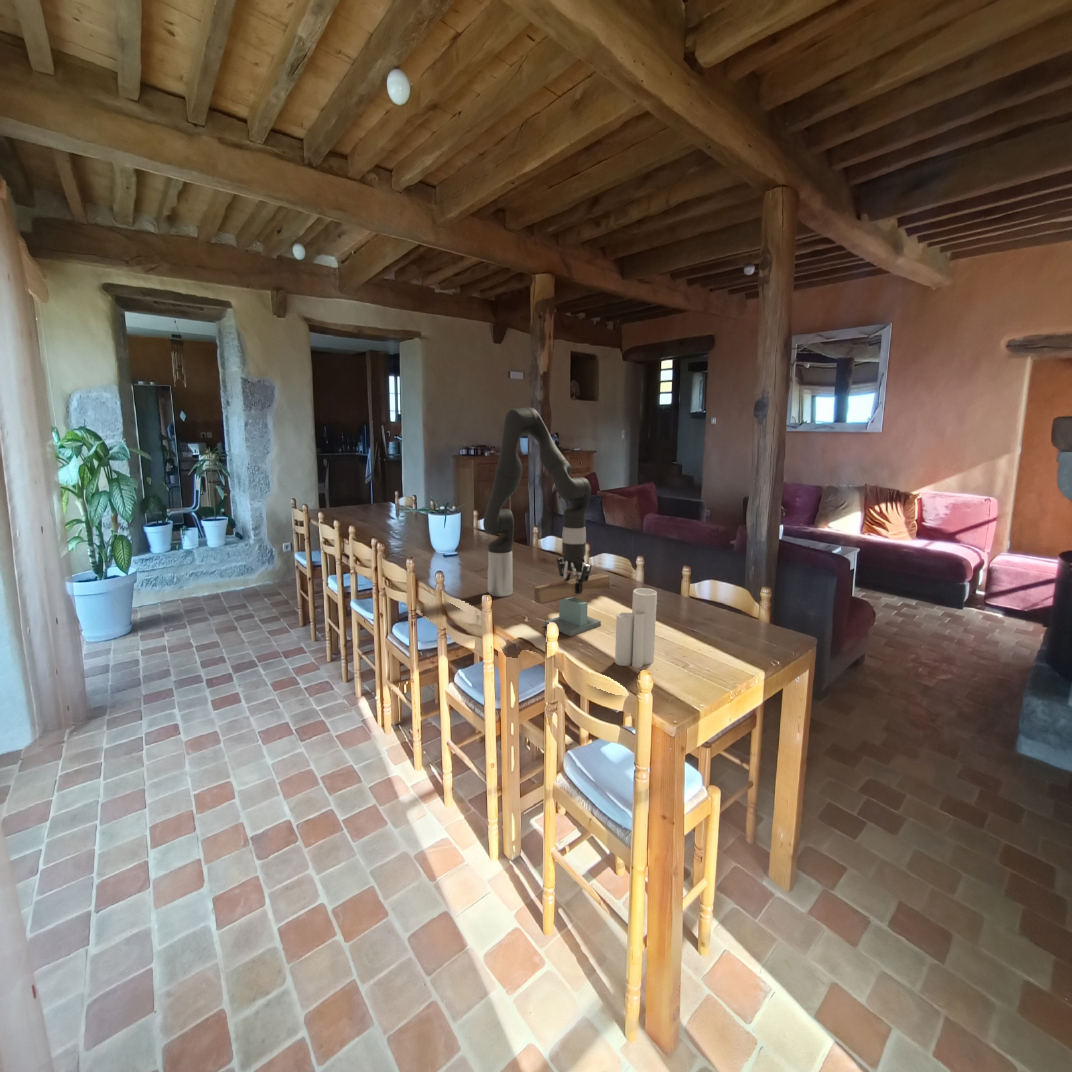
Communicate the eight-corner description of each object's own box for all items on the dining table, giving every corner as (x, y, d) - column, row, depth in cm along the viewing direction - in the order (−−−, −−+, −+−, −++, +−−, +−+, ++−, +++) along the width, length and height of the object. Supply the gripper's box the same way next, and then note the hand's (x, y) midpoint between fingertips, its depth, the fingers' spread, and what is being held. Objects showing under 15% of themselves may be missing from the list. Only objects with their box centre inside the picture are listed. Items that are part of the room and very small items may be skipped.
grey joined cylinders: (642, 652, 157) (645, 587, 153) (659, 662, 151) (663, 593, 147) (611, 661, 152) (613, 593, 148) (628, 671, 146) (630, 600, 142)
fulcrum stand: (544, 625, 178) (545, 599, 176) (574, 616, 187) (575, 591, 185) (570, 636, 169) (570, 609, 168) (600, 625, 178) (601, 599, 177)
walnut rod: (534, 600, 170) (534, 586, 169) (601, 585, 186) (601, 573, 185) (541, 604, 167) (541, 590, 166) (609, 588, 182) (609, 575, 181)
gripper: (550, 538, 175) (549, 589, 179) (581, 545, 165) (580, 599, 168) (566, 535, 180) (566, 584, 184) (598, 542, 170) (597, 594, 173)
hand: (573, 591), depth 176 cm, fingers closed on walnut rod, 4 cm apart
